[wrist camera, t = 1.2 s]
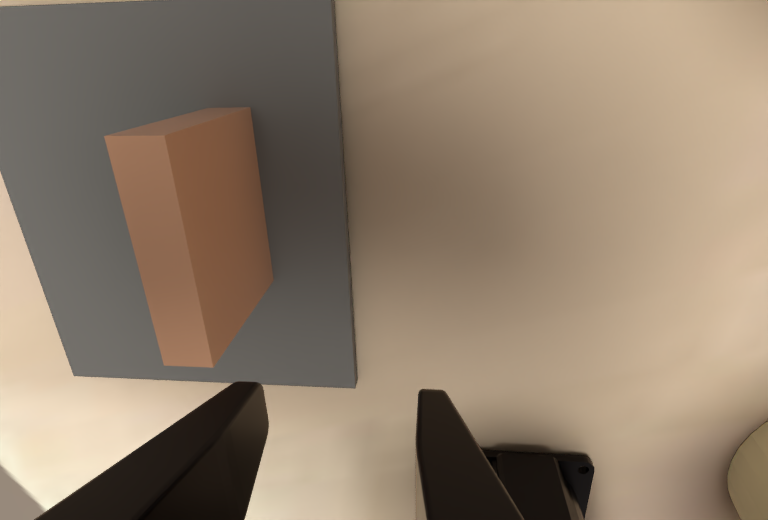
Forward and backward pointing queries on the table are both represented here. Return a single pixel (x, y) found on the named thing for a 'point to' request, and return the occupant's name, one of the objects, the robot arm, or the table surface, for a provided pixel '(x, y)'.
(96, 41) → the mat
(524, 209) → the table surface
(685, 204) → the table surface
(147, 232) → the tile
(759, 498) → the reusable coffee cup
